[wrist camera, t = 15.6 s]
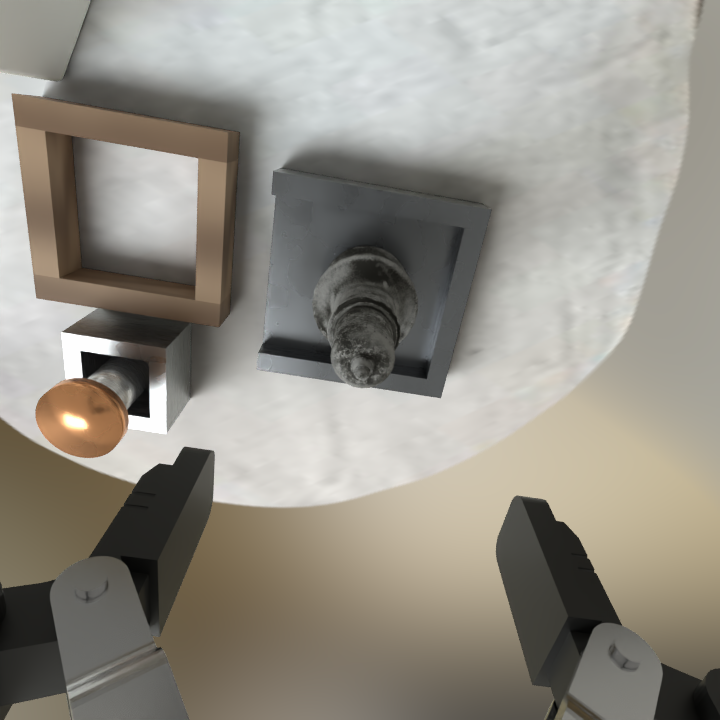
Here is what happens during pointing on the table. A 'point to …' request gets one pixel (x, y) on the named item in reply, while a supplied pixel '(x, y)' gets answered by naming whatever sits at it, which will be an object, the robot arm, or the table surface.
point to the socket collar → (60, 216)
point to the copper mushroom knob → (92, 408)
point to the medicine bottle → (39, 36)
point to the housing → (142, 342)
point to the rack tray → (379, 229)
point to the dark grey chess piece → (364, 313)
